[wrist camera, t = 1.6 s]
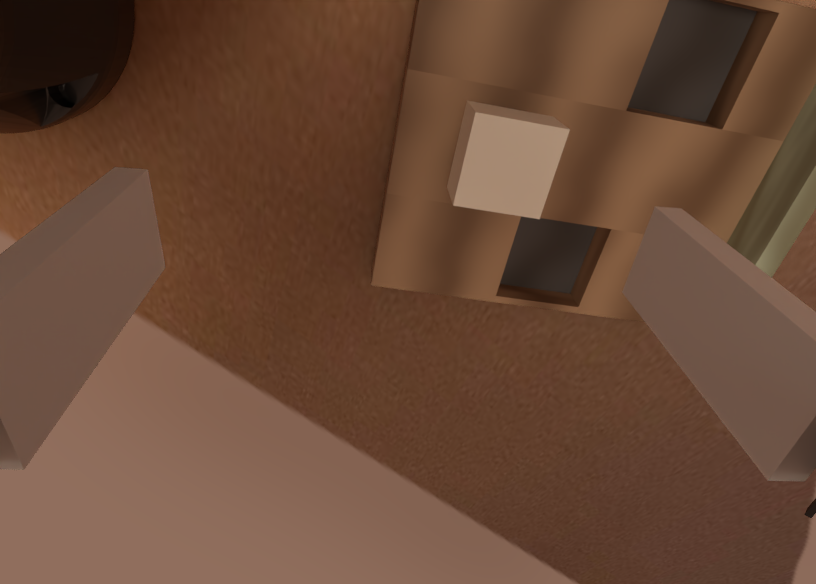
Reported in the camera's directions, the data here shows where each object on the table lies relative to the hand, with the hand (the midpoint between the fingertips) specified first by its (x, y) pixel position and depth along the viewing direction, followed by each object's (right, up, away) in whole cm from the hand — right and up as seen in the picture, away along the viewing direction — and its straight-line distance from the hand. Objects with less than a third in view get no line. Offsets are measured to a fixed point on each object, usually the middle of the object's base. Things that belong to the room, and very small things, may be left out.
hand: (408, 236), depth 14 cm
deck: (+11, +7, +18) cm, 23 cm away
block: (+5, +7, +16) cm, 18 cm away
